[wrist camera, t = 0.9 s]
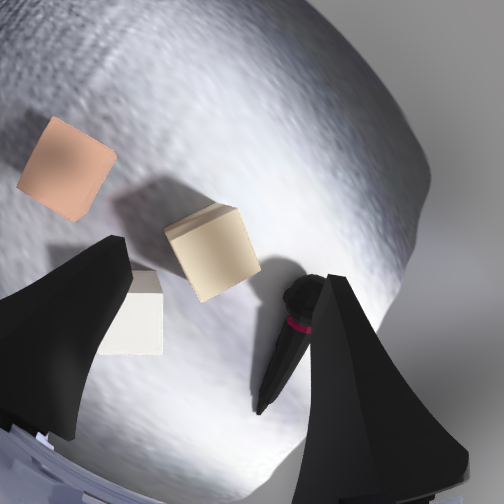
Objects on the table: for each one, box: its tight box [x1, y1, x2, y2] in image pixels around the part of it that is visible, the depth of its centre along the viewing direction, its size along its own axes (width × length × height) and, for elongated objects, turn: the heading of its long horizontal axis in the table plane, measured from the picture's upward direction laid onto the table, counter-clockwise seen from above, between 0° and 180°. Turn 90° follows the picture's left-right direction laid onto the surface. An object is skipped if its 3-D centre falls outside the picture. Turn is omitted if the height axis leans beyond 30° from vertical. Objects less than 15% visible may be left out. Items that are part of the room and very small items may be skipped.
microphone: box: [256, 274, 326, 415], centre depth 28 cm, size 6×6×20 cm
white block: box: [98, 270, 163, 355], centre depth 19 cm, size 5×5×5 cm
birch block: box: [163, 203, 261, 303], centre depth 21 cm, size 5×5×5 cm
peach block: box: [16, 116, 117, 222], centre depth 15 cm, size 5×5×5 cm
